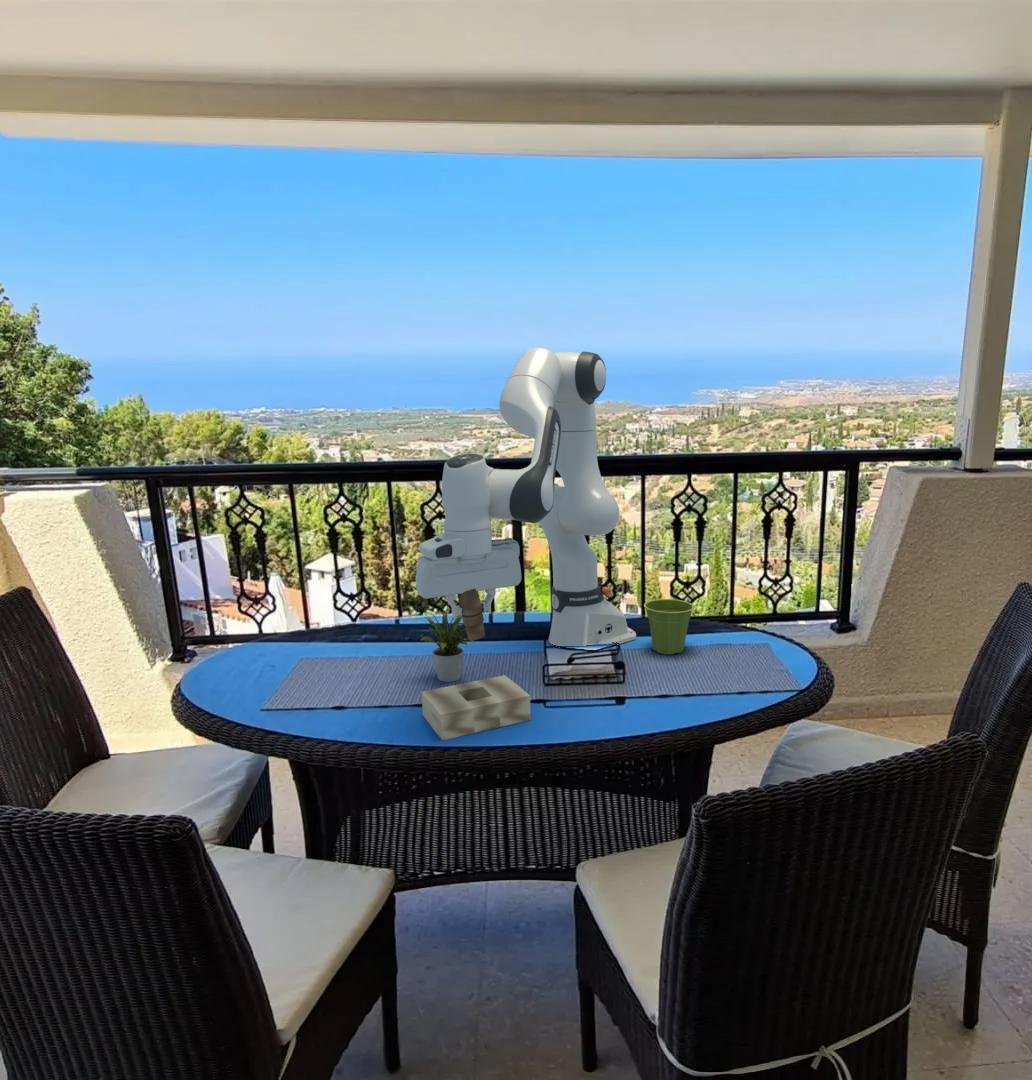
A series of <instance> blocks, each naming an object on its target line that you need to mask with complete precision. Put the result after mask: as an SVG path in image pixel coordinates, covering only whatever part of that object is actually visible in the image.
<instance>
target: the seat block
mask: <svg viewBox="0 0 1032 1080" xmlns="http://www.w3.org/2000/svg"><path fill="white" fill-rule="evenodd" d="M421 707H422V716H423V718H424V719H425V720H426V722H427V723H428V724H429V726H430V727H431V728H432V729H433V731H434V732H435V733H436V734H437V736H438V737H439V738H440V740H441V741H446V740H450V739H454V738H458V737H461V736H463V737H464V736H466V735H467V736H468V735H472V734H474V733H481V732H483V731H484V732H485V731H488V730H489V731H490V730H492V729H493V730H494V729H496V728H502V727H506V726H509V725H515V724H519V723H524V722H527V721H531V696H530V694H529V693H527V692H526V691H525V690H524V689H523V688H522V687H520V686H519V685H518V684H517V683H516V682H514V681H513V680H512V679H511V678H509V677H508V676H507V675H506V674H503V675H498V676H494V677H488V678H483V679H479V680H472V681H468V682H464V683H459V684H458V683H457V684H455V685H448V686H445V687H444V686H443V687H439V688H434V689H429V690H423V691H421Z"/></svg>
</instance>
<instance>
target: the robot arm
mask: <svg viewBox="0 0 1032 1080" xmlns="http://www.w3.org/2000/svg"><path fill="white" fill-rule="evenodd" d="M606 381H607V368H606V365H605V362H604V360H603V359H602V357H601V356H600V354H599V353H595V352H590V351H582V352H577V351H558V352H557V351H556V352H553V351H552V350H551V349H549V348H547V347H546V348H545V347H542V346H540V347H539V346H535V347H531V348H528V349H527V350H525V351H524V352H523V353H522V355H521V356H520V357H519V358H518V360H517V361H516V363H515V364H514V366H513V368H512V369H511V372H510V373H509V375H508V377H507V379H506V382H505V383H504V387H503V389H502V391H501V394H500V397H499V398H500V399H499V404H498V407H499V410H500V411H499V412H500V414H501V416H502V419H503V420H504V421H505V422H506V424H507V425H508V426H509V427H510V428H511V429H512V430H514V431H516V432H517V433H519V434H522V435H524V436H526V437H530V438H532V439H534V441H533V449H532V453H531V454H532V455H531V461H530V464H529V465H528V466H527V467H524V468H521V469H501V468H493V467H491V466H489V465H487V461H486V458H485V457H484V456H483V455H481V454H477V453H465V454H461V455H455V456H452V457H450V458H449V459H448V460H446V461H445V463H444V466H443V470H442V471H443V472H442V482H441V484H442V485H441V499H442V500H441V501H442V502H441V503H442V508H443V510H444V514H445V515H444V516H445V518H444V522H443V523H444V524H443V533H441V534H439V535H437V536H435V537H432V538H430V539H427V540H426V541H422V542H421V543H420V544H419V552H420V554H421V555H422V556H421V557H420V558H419V559H418V562H417V565H416V574H415V588H416V592H417V594H418V595H420V596H421V597H422V598H423V599H427V600H428V599H433V598H441V597H445V601H446V602H447V603H448V605H449V606H450V607H451V615H452V617H455V618H456V617H459V616H462V613H461V612H462V607H460V605H459V604H458V605H456V603H455V600H457V594H462V593H464V592H466V591H469V590H473V589H476V591H478V592H481V591H484V593H486V596H485V598H484V600H483V601H480V603H481V608H482V610H483V612H482V613H483V614H484V613H490V612H491V610H492V609H491V604H492V602H493V600H494V599H495V597H496V595H497V594H496V593H497V591H496V589H501V588H502V589H504V588H508V587H516V586H519V584H520V583H521V581H522V570H521V568H522V567H521V563H520V558H519V557H520V554H521V553H520V551H521V550H520V545H519V542H518V541H517V540H515V539H513V538H511V537H507V538H500V539H499V538H497V539H493V538H492V537H493V536H492V535H493V534H492V522H491V520H490V519H495V520H496V519H497V520H511V521H517V522H518V521H519V522H524V523H531V524H537V523H538V524H539V526H540V527H541V529H542V530H543V533H544V535H545V537H546V540H547V544H548V547H549V550H550V554H551V555H550V556H551V561H552V562H551V563H552V578H553V580H552V581H553V583H552V584H553V585H552V586H551V605H552V619H551V626H550V632H549V635H548V639H547V641H548V643H549V644H550V645H552V644H553V645H552V646H554V645H557V646H586V645H593V644H608V643H612V642H614V643H616V642H617V643H619V644H618V645H620V644H624V643H627V642H630V641H634V640H636V639H637V633H636V631H634V629H632V628H630V627H628V622H627V620H626V619H627V618H626V616H625V614H624V612H623V611H621V609H619V608H618V607H616V606H615V605H614V604H612V603H611V602H609V601H608V600H607V599H605V597H604V596H606V597H610V596H611V595H612V594H613V593H612V592H613V591H612V589H611V588H610V587H607V586H604V587H603V586H601V585H599V584H598V557H597V554H596V552H595V551H594V550H593V549H592V548H591V546H590V544H589V543H588V541H587V539H586V536H603V535H607V534H610V533H612V531H613V530H614V529H615V528H616V526H617V524H618V523H619V518H620V508H619V504H618V501H617V500H616V499H615V498H614V496H612V494H611V493H610V492H609V490H608V489H607V488H606V486H605V482H604V480H603V478H602V475H601V471H600V467H599V462H598V450H597V449H598V447H597V446H598V445H597V444H598V442H597V417H596V407H595V401H596V399H598V398H599V397H600V395H602V393H603V391H604V390H605V387H606V383H607V382H606ZM556 471H557V473H558V475H560V478H561V480H562V483H563V485H555V478H556ZM557 646H556V647H557Z"/></svg>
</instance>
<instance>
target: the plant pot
mask: <svg viewBox="0 0 1032 1080" xmlns="http://www.w3.org/2000/svg"><path fill="white" fill-rule="evenodd" d="M643 608H644V609H646V615H647V616H646V617H647V618H648V623H649V630H650V636H651V638H650V639H651V644H652V649H653V651H656V652H657V653H659V654H662V655H669V656H671V655H674V654H681V653H682V652H683V651H684V647H685V643H686V639H687V638H686V637H687V632H688V628H689V623H690V619H691V617H692V613H693V610H694V609H695V605H694V604H693V603H691V602H689V601H684V600H682V599H681V600H680V599H674V598H673V599H672V598H659V599H652V600H648V601H646V602H645V603H643Z"/></svg>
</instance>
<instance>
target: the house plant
mask: <svg viewBox="0 0 1032 1080" xmlns="http://www.w3.org/2000/svg"><path fill="white" fill-rule="evenodd" d="M448 610H449V607H447V608H446V610H445V612H444V611H442V616H443V617H442V618H443V625H444V627H443V626H441V624H440V623H439V621H438V618H436V616H435V615H434V614H432V613H429V612H428V614H430V615H432V617H433V618H434V619H435V621H436V623H435V621H433V620H432V618H431V616H428V615H426V614H424V615H425V616H424V618H425V620H427V621H428V622H429V625H431V626H432V627H433V628H434V629H433V628H432V627H429V628H427V629H429V630H430V631H432V633H433V635H435V637H436V638H435V639H436V640H437V641H436V640H435V639H433V638H432V637H430V636H426V635H425V636H423V637H422V638H421V639H420V642H421V641H423V642H422V644H423V643H433V645H434V644H436V645H437V646H438V647H437V648H435V649H434V650H432V652H431V653H432V656H433V661H434V666H435V670H436V675H437V680H439V681H440V682H446V683H450V682H456V681H458V680H460V679H462V672H463V665H464V655H465V649H464V648H463V647H461V646H459V645H461V644H462V645H465V646H466V647H469V646H468V641H469V642H472V644H475V642H474V640H471V639H468V636H466V635H467V631H466V628H462V629H460V628H461V627H462V626H464V624H463V623H460V622H461V621H462V616H459V617H453V616H452V617H453V618H452V619H451V621H450V623H449V620H448ZM415 619H416V620H420V621H423V622H424V623H426V621H425V620H423V619H421V618H418V617H415ZM458 626H459V627H458ZM464 636H465V637H464Z"/></svg>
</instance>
